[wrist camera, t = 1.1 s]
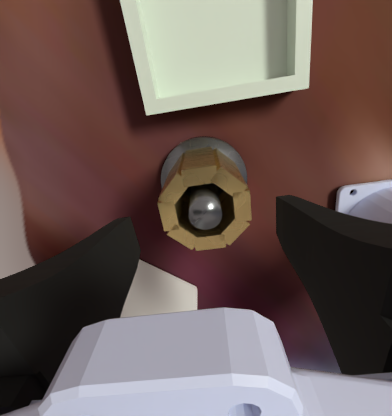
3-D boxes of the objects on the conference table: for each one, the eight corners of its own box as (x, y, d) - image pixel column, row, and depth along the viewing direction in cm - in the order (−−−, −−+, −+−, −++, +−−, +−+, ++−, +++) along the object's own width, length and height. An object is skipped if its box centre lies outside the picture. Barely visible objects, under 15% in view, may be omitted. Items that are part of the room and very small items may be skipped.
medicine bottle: (101, 302, 24) (19, 474, 13) (131, 253, 21) (60, 418, 10) (163, 328, 25) (136, 501, 14) (198, 285, 23) (197, 459, 12)
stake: (242, 129, 16) (263, 146, 11) (248, 211, 19) (267, 256, 14) (153, 143, 17) (131, 166, 11) (171, 221, 20) (160, 268, 14)
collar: (234, 143, 16) (247, 160, 12) (241, 219, 19) (254, 259, 14) (163, 153, 17) (150, 175, 12) (179, 227, 19) (173, 268, 15)
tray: (301, -134, 11) (320, -178, 9) (295, 89, 15) (308, 88, 13) (108, -87, 12) (92, -119, 10) (152, 113, 16) (146, 115, 14)
